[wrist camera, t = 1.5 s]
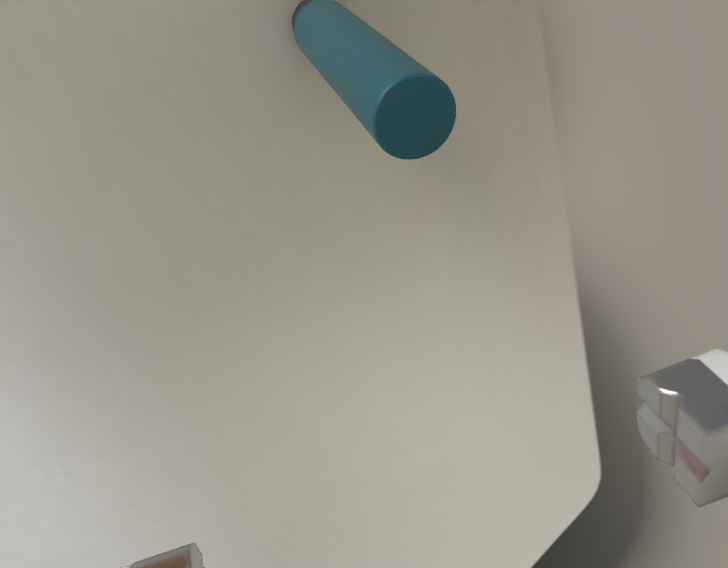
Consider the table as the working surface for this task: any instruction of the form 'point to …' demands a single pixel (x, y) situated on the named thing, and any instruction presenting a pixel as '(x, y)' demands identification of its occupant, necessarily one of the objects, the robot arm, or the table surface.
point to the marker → (376, 80)
